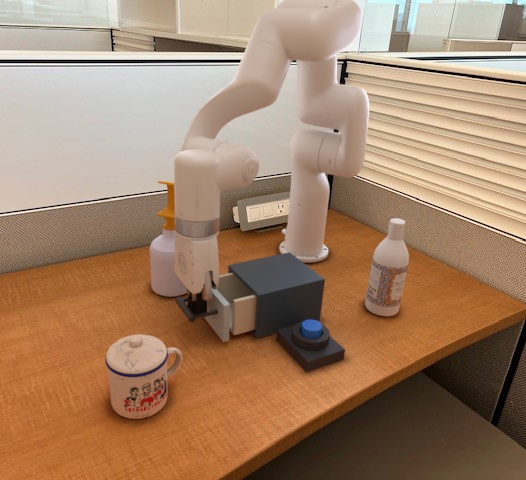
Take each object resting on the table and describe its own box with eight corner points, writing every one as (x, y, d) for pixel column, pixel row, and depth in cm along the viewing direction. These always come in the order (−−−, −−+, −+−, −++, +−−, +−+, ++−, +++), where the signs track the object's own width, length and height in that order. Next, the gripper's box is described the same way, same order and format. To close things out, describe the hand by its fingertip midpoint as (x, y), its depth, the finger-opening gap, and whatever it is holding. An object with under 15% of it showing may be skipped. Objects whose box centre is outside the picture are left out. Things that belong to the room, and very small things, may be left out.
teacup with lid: (124, 430, 69) (118, 366, 64) (100, 393, 75) (93, 332, 70) (196, 397, 75) (196, 336, 70) (168, 365, 82) (166, 308, 77)
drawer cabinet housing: (256, 339, 90) (259, 295, 86) (226, 305, 100) (228, 264, 96) (319, 320, 96) (325, 278, 92) (286, 290, 106) (289, 252, 102)
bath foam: (382, 321, 97) (400, 230, 88) (357, 305, 102) (371, 218, 93) (405, 311, 100) (424, 223, 92) (379, 296, 105) (395, 211, 97)
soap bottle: (143, 292, 103) (137, 183, 93) (165, 273, 111) (161, 171, 101) (180, 301, 100) (178, 190, 90) (199, 282, 108) (200, 177, 98)
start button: (297, 330, 87) (297, 322, 86) (313, 325, 88) (314, 317, 87) (308, 341, 84) (309, 333, 83) (325, 336, 85) (326, 328, 85)
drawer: (194, 350, 84) (193, 313, 81) (171, 317, 94) (170, 282, 90) (286, 324, 93) (289, 289, 89) (257, 296, 102) (259, 263, 99)
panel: (276, 339, 90) (277, 321, 88) (311, 329, 93) (313, 311, 92) (306, 372, 82) (308, 353, 80) (343, 359, 85) (346, 341, 84)
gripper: (161, 211, 86) (164, 299, 93) (193, 244, 74) (194, 342, 81) (200, 206, 89) (199, 291, 96) (237, 237, 77) (233, 331, 85)
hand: (197, 314), depth 89 cm, fingers closed
